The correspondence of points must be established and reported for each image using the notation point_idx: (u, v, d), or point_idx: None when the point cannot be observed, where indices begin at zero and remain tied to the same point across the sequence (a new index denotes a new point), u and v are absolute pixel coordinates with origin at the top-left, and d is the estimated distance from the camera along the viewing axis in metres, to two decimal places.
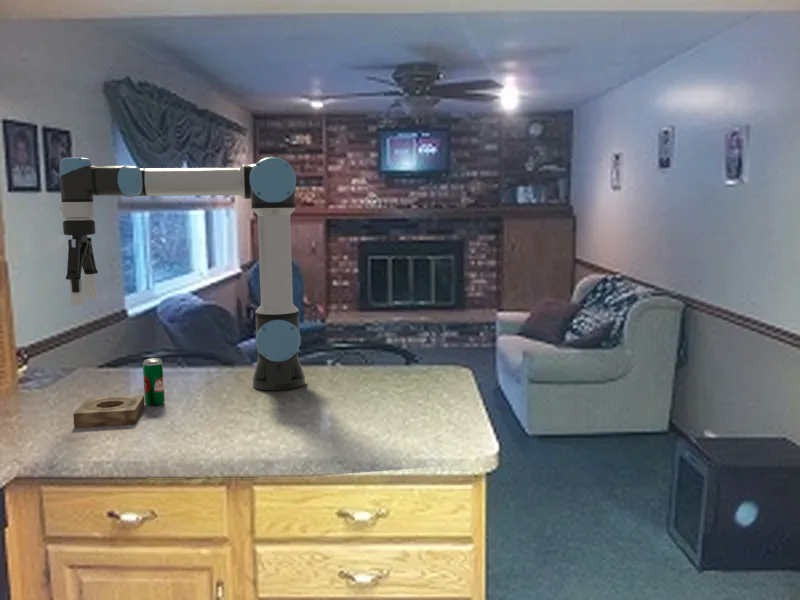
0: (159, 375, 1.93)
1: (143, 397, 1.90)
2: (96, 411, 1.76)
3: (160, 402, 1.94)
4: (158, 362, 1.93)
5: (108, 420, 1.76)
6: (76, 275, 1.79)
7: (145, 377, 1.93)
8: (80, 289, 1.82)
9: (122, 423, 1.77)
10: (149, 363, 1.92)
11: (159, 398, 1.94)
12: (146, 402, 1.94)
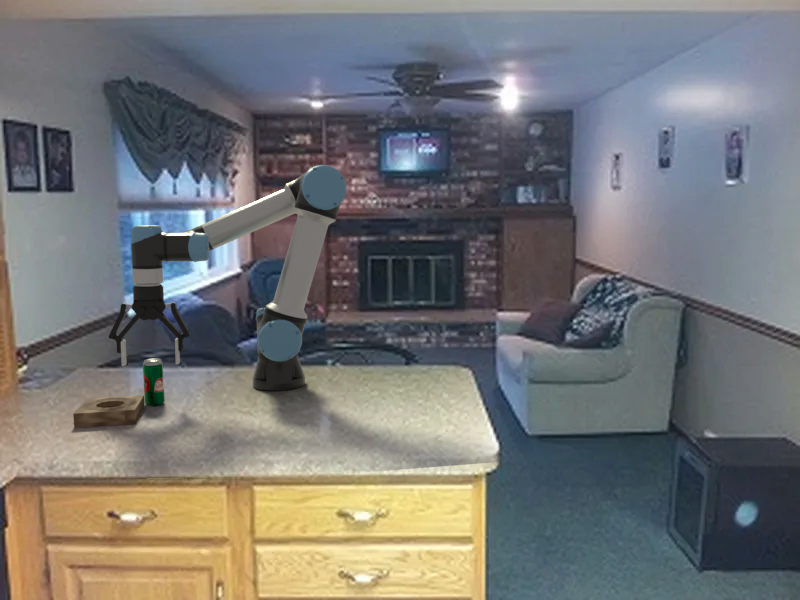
0: (159, 375, 1.93)
1: (143, 397, 1.90)
2: (96, 411, 1.76)
3: (160, 402, 1.94)
4: (158, 362, 1.93)
5: (108, 420, 1.76)
6: None
7: (145, 377, 1.93)
8: None
9: (122, 423, 1.77)
10: (149, 363, 1.92)
11: (159, 398, 1.94)
12: (146, 402, 1.94)
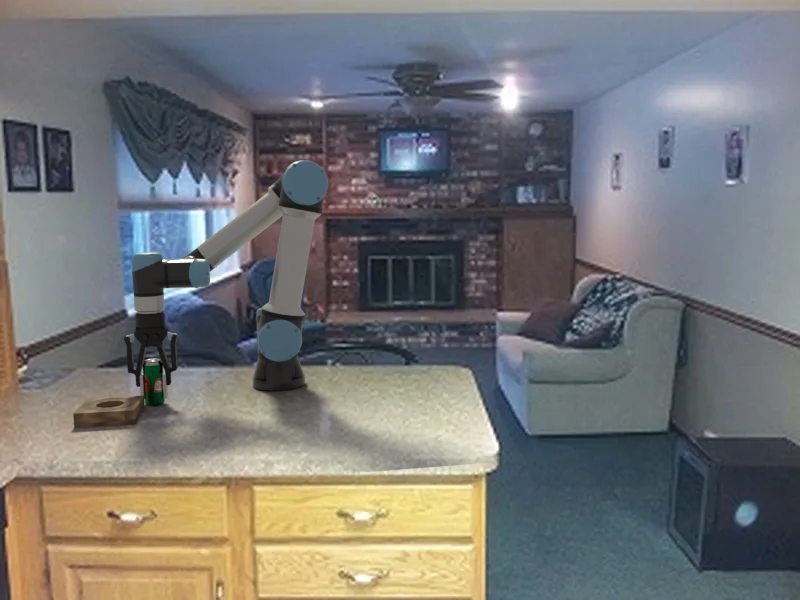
0: (159, 375, 1.93)
1: (143, 397, 1.90)
2: (96, 411, 1.76)
3: (161, 402, 1.94)
4: (158, 362, 1.93)
5: (108, 420, 1.76)
6: (128, 371, 1.92)
7: (145, 377, 1.93)
8: None
9: (122, 423, 1.77)
10: (149, 363, 1.92)
11: (160, 398, 1.94)
12: (146, 402, 1.94)
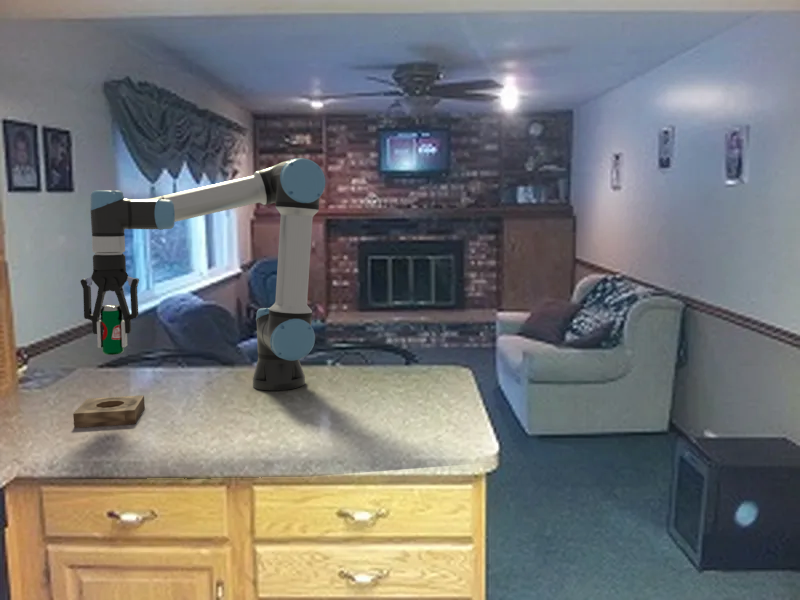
0: (117, 322, 1.81)
1: (143, 397, 1.90)
2: (96, 411, 1.76)
3: (119, 351, 1.82)
4: (117, 308, 1.81)
5: (108, 420, 1.76)
6: None
7: (102, 324, 1.81)
8: None
9: (122, 423, 1.77)
10: (107, 308, 1.80)
11: (118, 347, 1.82)
12: (103, 350, 1.82)
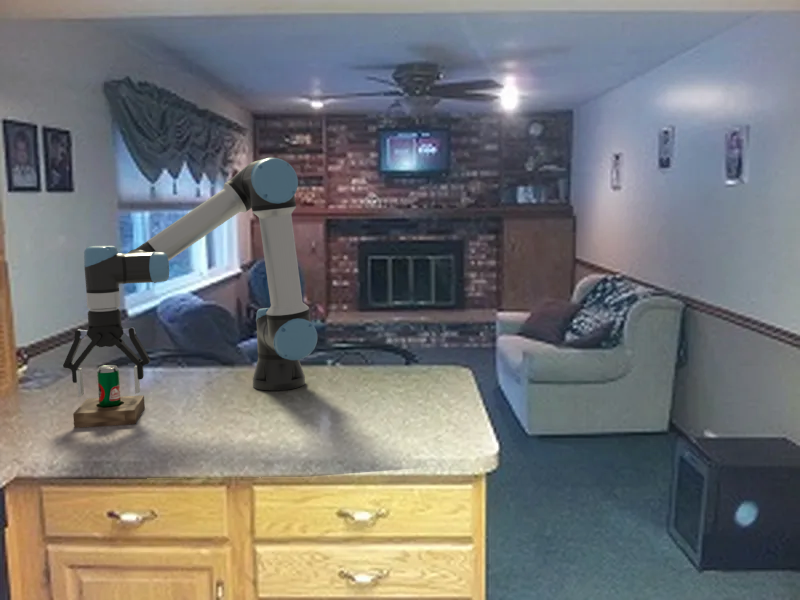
0: (114, 383, 1.81)
1: (143, 397, 1.90)
2: (96, 411, 1.76)
3: None
4: (114, 369, 1.81)
5: (108, 420, 1.76)
6: None
7: (100, 385, 1.80)
8: None
9: (122, 423, 1.77)
10: (104, 370, 1.80)
11: None
12: None
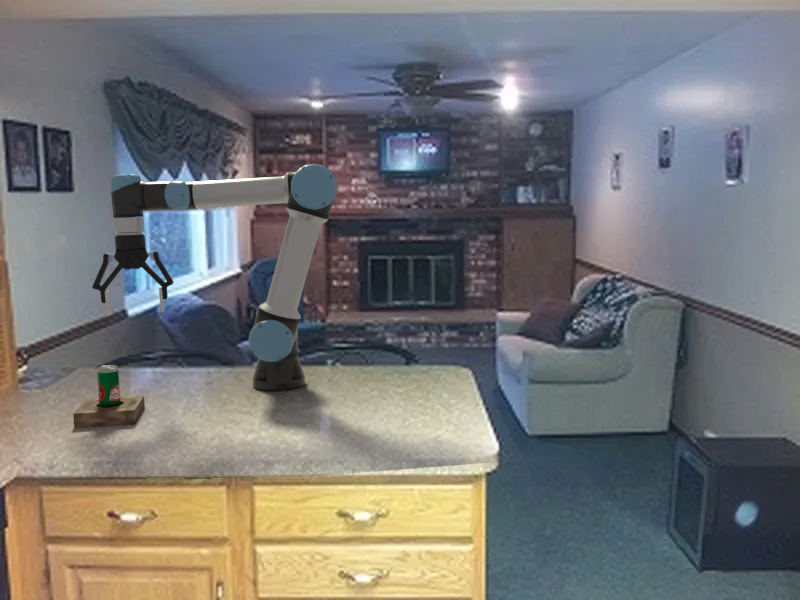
0: (114, 383, 1.81)
1: (143, 397, 1.90)
2: (96, 411, 1.76)
3: None
4: (114, 369, 1.81)
5: (108, 420, 1.76)
6: None
7: (99, 386, 1.80)
8: None
9: (122, 423, 1.77)
10: (104, 370, 1.80)
11: None
12: None
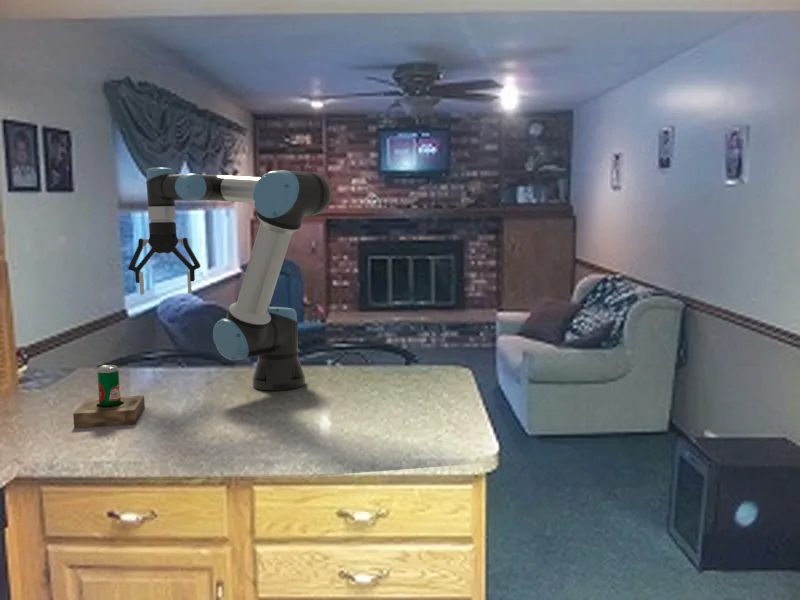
0: (114, 383, 1.81)
1: (143, 397, 1.90)
2: (96, 411, 1.76)
3: None
4: (114, 369, 1.81)
5: (108, 420, 1.76)
6: None
7: (100, 386, 1.80)
8: None
9: (122, 423, 1.77)
10: (104, 370, 1.80)
11: None
12: None
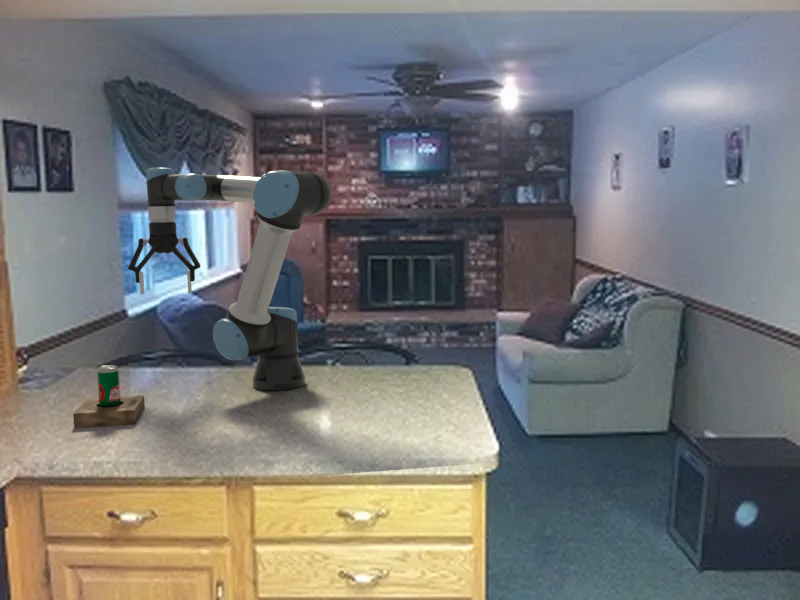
0: (114, 383, 1.81)
1: (143, 397, 1.90)
2: (96, 411, 1.76)
3: None
4: (113, 369, 1.81)
5: (108, 420, 1.76)
6: None
7: (100, 386, 1.80)
8: None
9: (122, 423, 1.77)
10: (104, 370, 1.80)
11: None
12: None
